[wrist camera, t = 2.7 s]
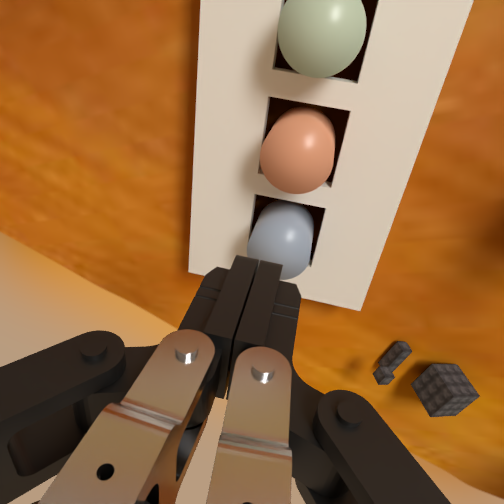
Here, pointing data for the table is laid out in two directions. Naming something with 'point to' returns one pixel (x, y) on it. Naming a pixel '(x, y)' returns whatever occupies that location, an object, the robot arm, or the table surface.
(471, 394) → the building blocks
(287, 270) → the slate button
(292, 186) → the terracotta button
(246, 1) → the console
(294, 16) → the pale green rounded piece
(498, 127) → the table surface
